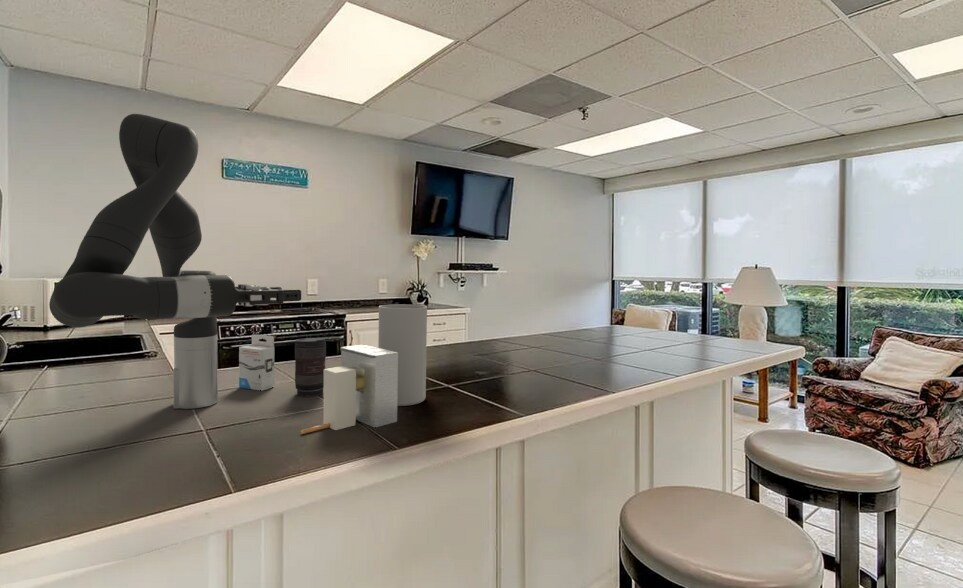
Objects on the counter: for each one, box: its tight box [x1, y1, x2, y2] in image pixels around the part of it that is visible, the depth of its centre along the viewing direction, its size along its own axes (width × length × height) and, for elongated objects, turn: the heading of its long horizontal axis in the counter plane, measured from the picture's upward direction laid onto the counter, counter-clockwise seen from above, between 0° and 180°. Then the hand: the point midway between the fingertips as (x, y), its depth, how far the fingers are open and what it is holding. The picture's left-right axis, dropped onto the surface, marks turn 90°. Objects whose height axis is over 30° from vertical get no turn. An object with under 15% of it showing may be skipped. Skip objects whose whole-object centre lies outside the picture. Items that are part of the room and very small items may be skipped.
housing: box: [339, 344, 398, 428], centre depth 111 cm, size 7×14×16 cm, turn 47°
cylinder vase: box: [377, 303, 428, 407], centre depth 126 cm, size 12×12×25 cm
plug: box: [300, 365, 364, 435], centre depth 107 cm, size 22×5×12 cm, turn 137°
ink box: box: [238, 334, 275, 392], centre depth 136 cm, size 9×5×15 cm, turn 71°
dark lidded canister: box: [294, 337, 327, 397], centre depth 131 cm, size 8×8×15 cm
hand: (290, 293), depth 97 cm, fingers open, 8 cm apart
